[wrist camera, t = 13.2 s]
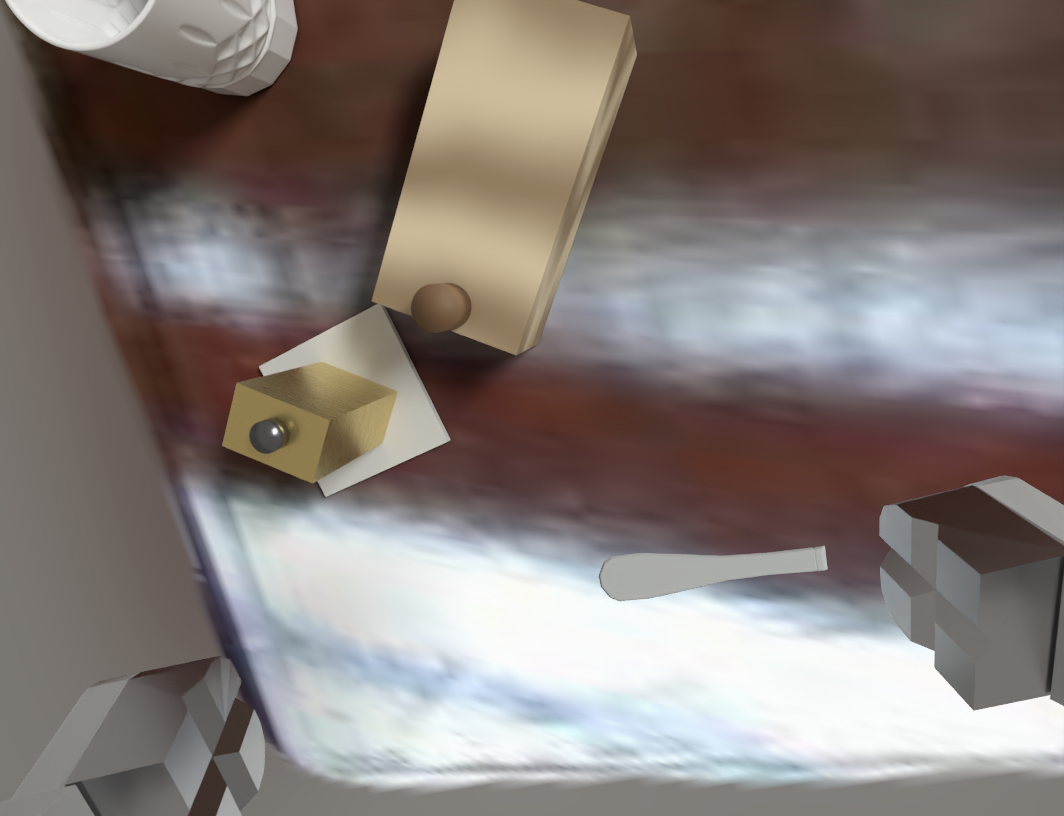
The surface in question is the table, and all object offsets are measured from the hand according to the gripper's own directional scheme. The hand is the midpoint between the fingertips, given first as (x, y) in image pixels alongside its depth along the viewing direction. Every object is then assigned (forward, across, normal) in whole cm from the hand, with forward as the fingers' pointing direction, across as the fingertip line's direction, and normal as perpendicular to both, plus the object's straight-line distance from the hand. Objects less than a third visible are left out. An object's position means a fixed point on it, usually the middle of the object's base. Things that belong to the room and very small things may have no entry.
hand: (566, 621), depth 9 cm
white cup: (+34, +10, -13) cm, 38 cm away
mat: (+29, +9, +6) cm, 31 cm away
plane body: (+28, -2, -3) cm, 29 cm away
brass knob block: (+29, +9, +6) cm, 31 cm away
